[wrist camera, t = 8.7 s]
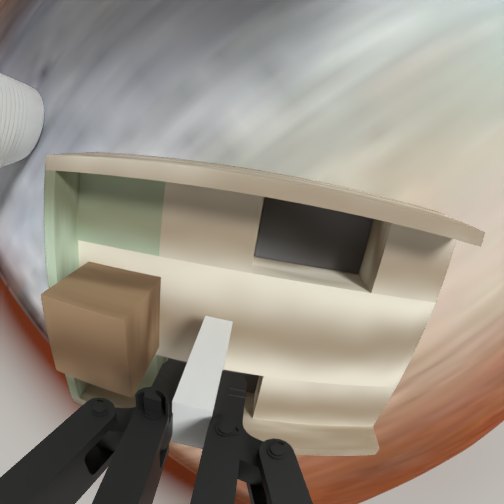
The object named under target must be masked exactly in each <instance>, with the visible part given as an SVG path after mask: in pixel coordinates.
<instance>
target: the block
mask: <svg viewBox="0 0 504 504" xmlns="http://www.w3.org/2000/svg"><path fill="white" fill-rule="evenodd" d="M160 290H161V277H158V276H153V275H148V274H144V273H139V272H134V271H129V270H125V269H120V268H116V267H111V266H107V265H102V264H98V263H94V262H87V263H86V264H84V265H83V266H81V267H80V268H78V269H77V270H75V271H74V272H72V273H71V274H69V275H68V276H66V277H65V278H63V279H62V280H61V281H59V282H58V283H56V284H55V285H53V286H52V287H51V288H49V289H48V290H46V291H45V292H44V293H42V294H41V299H42V305H43V311H44V317H45V322H46V327H47V332H48V337H49V342H50V346H51V350H52V354H53V358H54V362H55V366H56V369H57V370H58V371H60V372H62V373H64V374H67V375H69V376H72V377H74V378H77V379H79V380H82V381H84V382H87V383H90V384H92V385H95V386H98V387H101V388H104V389H106V390H109V391H112V392H115V393H118V394H121V395H125V396H128V397H131V398H132V397H133V395H134V393H135V391H136V389H137V387H138V385H139V383H140V381H141V380H142V378H143V376H144V374H145V372H146V370H147V368H148V367H149V365H150V363H151V361H152V359H153V357H154V355H155V354H156V352H157V350H158V348H159V326H160Z"/></svg>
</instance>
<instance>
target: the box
mask: <svg viewBox="0 0 504 504" xmlns="http://www.w3.org/2000/svg"><path fill="white" fill-rule="evenodd" d="M264 197H265V199H264ZM263 201H264V205H263ZM262 206H263V211H262ZM261 212H262V216H261ZM260 218H261V222H260ZM259 223H260V228H259ZM258 229H259V233H258ZM44 234H45V253H46V266H47V277H48V286H49V288H51V287H52V286H53V285H55V284H56V283H58V282H59V281H61V280H62V279H63V278H65V277H66V276H68V275H69V274H71V273H72V272H74V271H75V270H77V269H78V268H80V267H81V266H83V265H84V264H86V263H87V262H94V263H98V264H102V265H107V266H111V267H116V268H120V269H125V270H129V271H134V272H139V273H144V274H148V275H153V276H158V277H161V290H160V326H159V348H158V350H157V352H156V354H155V355H154V357H153V359H152V361H151V363H150V365H149V367H148V368H147V370H146V372H145V374H144V376H143V378H142V380H141V381H140V383H139V385H138V387H137V389H136V391H135V393H134V395H133V397H132V398H131V397H128V396H125V395H121V394H118V393H115V392H112V391H109V390H106V389H104V388H101V387H98V386H95V385H92V384H90V383H87V382H84V381H82V380H79V379H77V378H74V377H72V376H69V375H67V374H65V375H66V379H67V383H68V386H69V390H70V393H71V397H72V400H73V402H75V403H77V404H80V405H84V404H85V403H86V402H87V401H89V400H90V399H92V398H97V397H98V398H105V399H107V400H109V401H111V402H112V403H113V404H114V406H115V407H118V408H133V407H136V399H135V394H136V392H137V391H138V390H140V389H142V388H145V387H151V386H152V384H153V382H154V380H155V379H156V376H157V374H158V372H159V370H160V368H161V366H162V364H163V363H165V362H166V361H167V360H169V359H172V360H176V361H180V362H184V363H187V362H188V359H189V356H190V354H191V351H192V349H193V346H194V344H195V341H196V339H197V336H198V333H199V331H200V328H201V326H202V323H203V321H204V318H205V316H209V317H214V318H219V319H223V320H228V321H233V324H232V329H231V334H230V340H229V345H228V350H227V356H226V361H225V365H224V370H223V371H228V372H233V373H238V374H243V375H244V377H245V379H246V381H247V388H246V396H245V405H244V414H243V427H244V429H245V430H246V432H247V433H248V434H250V435H251V436H253V437H254V438H257V439H259V440H261V441H266V440H268V439H272V438H274V439H281V440H283V441H286V442H287V443H288V444H290V445H291V447H292V448H293V450H294V453H295V454H298V455H321V456H354V455H375V454H376V453H377V452H378V450H379V445H378V442H377V438H376V435H375V432H374V428H373V425H374V424H375V422H376V420H377V419H378V417H379V416H380V414H381V412H382V411H383V409H384V407H385V406H386V404H387V402H388V400H389V399H390V397H391V395H392V393H393V392H394V390H395V388H396V386H397V384H398V383H399V381H400V379H401V377H402V375H403V373H404V371H405V369H406V367H407V365H408V363H409V361H410V359H411V357H412V355H413V353H414V351H415V349H416V347H417V345H418V343H419V340H420V338H421V336H422V334H423V332H424V329H425V327H426V325H427V322H428V320H429V318H430V315H431V313H432V310H433V308H434V305H435V303H436V300H437V297H438V295H439V292H440V289H441V287H442V284H443V281H444V278H445V275H446V272H447V269H448V266H449V263H450V260H451V257H452V254H453V250H454V247H455V244H456V240H459V241H463V242H466V243H470V244H473V245H477V246H480V247H481V245H482V242H483V238H484V234H485V232H483V231H481V230H479V229H476V228H474V227H472V226H470V225H467V224H465V223H463V222H460V221H458V220H456V219H453V218H451V217H449V216H446V215H444V214H441V213H439V212H436V211H433V210H429V209H426V208H422V207H419V206H415V205H412V204H408V203H405V202H401V201H397V200H393V199H390V198H386V197H382V196H378V195H374V194H370V193H366V192H362V191H358V190H353V189H349V188H345V187H340V186H336V185H331V184H327V183H322V182H317V181H312V180H307V179H302V178H297V177H292V176H287V175H282V174H276V173H270V172H265V171H259V170H253V169H247V168H241V167H234V166H227V165H221V164H213V163H206V162H199V161H191V160H182V159H174V158H164V157H155V156H144V155H133V154H120V153H105V152H85V153H67V154H53V155H46V165H45V184H44ZM257 235H258V239H257ZM256 240H257V245H256ZM255 246H256V250H255ZM254 252H255V256H254Z"/></svg>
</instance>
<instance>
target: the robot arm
mask: <svg viewBox="0 0 504 504" xmlns="http://www.w3.org/2000/svg"><path fill="white" fill-rule="evenodd" d="M232 324H233V321H228V320H223V319H219V318H214V317H209V316H205V318H204V321H203V323H202V326H201V328H200V331H199V333H198V336H197V339H196V341H195V344H194V346H193V349H192V351H191V354H190V356H189V359H188V362H187V363H184V362H180V361H176V360H172V359H169V360H167V361H166V362H165V363H163V364H162V366H161V368H160V370H159V372H158V374H157V376H156V379H155V380H154V382H153V384H152V386H151V387H145V388H142V389H140V390H138V391H137V392H136V394H135V399H136V407H133V408H118V407H115V406H114V404H113V403H112V402H111V401H109V400H107V399H105V398H98V397H97V398H92V399H90V400H89V401H87V402H86V403H85V404H84V405H82V406H81V407H80V408H79V409H78V410H77V411H76V412H75V413H73V414H72V415H71V416H70V417H69V418H68V419H66V420H65V421H64V422H63V423H62V424H61V425H60V426H59V427H58V428H56V429H55V430H54V431H53V432H52V433H51V434H49V435H48V436H47V437H46V438H45V439H44V440H43V441H41V442H40V443H39V444H38V445H37V446H36V447H35V448H34V449H32V450H31V451H30V452H29V453H28V454H27V455H26V456H24V457H23V458H22V459H21V460H20V461H19V462H18V463H16V465H14V466H13V467H12V468H11V469H10V470H8V471H7V472H6V473H5V474H4V475H3V476H2V477H0V504H75V503H76V502H77V501H78V500H79V499H80V498H81V496H82V495H83V494H84V493H85V492H86V491H87V490H88V489H89V488H90V486H91V485H92V484H93V483H94V482H95V481H96V480H97V478H98V477H99V476H100V475H101V474H102V473H103V472H104V471H105V469H106V468H107V467H108V466H109V467H108V469H107V471H106V473H105V476H104V478H103V480H102V482H101V484H100V487H99V489H98V491H97V493H96V496H95V498H94V500H93V503H92V504H152V503H153V499H154V496H155V493H156V489H157V487H158V483H159V480H160V477H161V474H162V471H163V467H164V464H165V461H166V458H167V455H168V452H169V443H170V440H171V441H172V442H176V443H180V444H184V445H188V446H192V447H197V448H201V449H203V451H202V455H201V459H200V464H199V468H198V472H197V477H196V481H195V486H194V490H193V494H192V499H191V503H190V504H234V502H235V494H236V485H237V479H240V480H242V481H244V482H246V483H247V487H248V492H249V497H250V501H251V504H313V503H312V500H311V498H310V495H309V492H308V489H307V487H306V484H305V481H304V478H303V475H302V473H301V470H300V467H299V464H298V461H297V458H296V456H295V453H294V450H293V448H292V447H291V445H290V444H288V443H287V442H286V441H283V440H281V439H274V438H272V439H268V440H266V441H261V440H259V439H257V438H254V437H253V436H251V435H250V434H248V433H247V432H246V430H245V429H244V427H243V414H244V405H245V396H246V388H247V381H246V379H245V377H244V375H243V374H238V373H233V372H228V371H223V370H224V365H225V361H226V356H227V350H228V345H229V340H230V334H231V329H232Z"/></svg>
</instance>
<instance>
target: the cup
mask: <svg viewBox="0 0 504 504" xmlns="http://www.w3.org/2000/svg"><path fill="white" fill-rule="evenodd" d="M43 122H44V105H43V101H42V98H41V96H40V94H39V92H38V91H37V90H36V89H34V88H33V87H31V86H29V85H26V84H24V83H22V82H20V81H17V80H15V79H12V78H10V77H8V76H5V75H4V74H1V73H0V168H1V167H4V166H7V165H9V164H12V163H15V162H17V161H20V160H22V159H24V158H25V157H26V156H28V155H29V154H30V153H31V151H32V150H33V149H34V147H35V145H36V144H37V142H38V139H39V137H40V134H41V131H42V127H43Z"/></svg>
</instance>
